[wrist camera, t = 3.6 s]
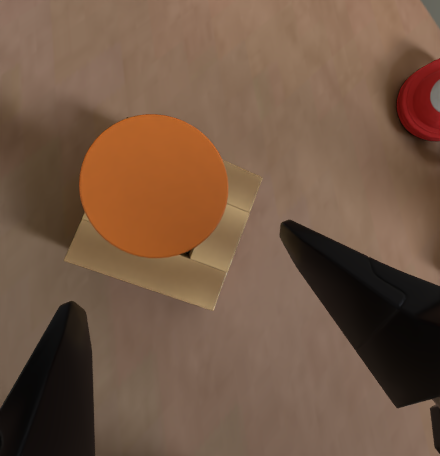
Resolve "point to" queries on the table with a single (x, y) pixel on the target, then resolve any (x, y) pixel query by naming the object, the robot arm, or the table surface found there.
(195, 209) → the glue stick
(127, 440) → the table surface
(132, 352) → the table surface
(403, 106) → the tracker holder
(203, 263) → the holder
